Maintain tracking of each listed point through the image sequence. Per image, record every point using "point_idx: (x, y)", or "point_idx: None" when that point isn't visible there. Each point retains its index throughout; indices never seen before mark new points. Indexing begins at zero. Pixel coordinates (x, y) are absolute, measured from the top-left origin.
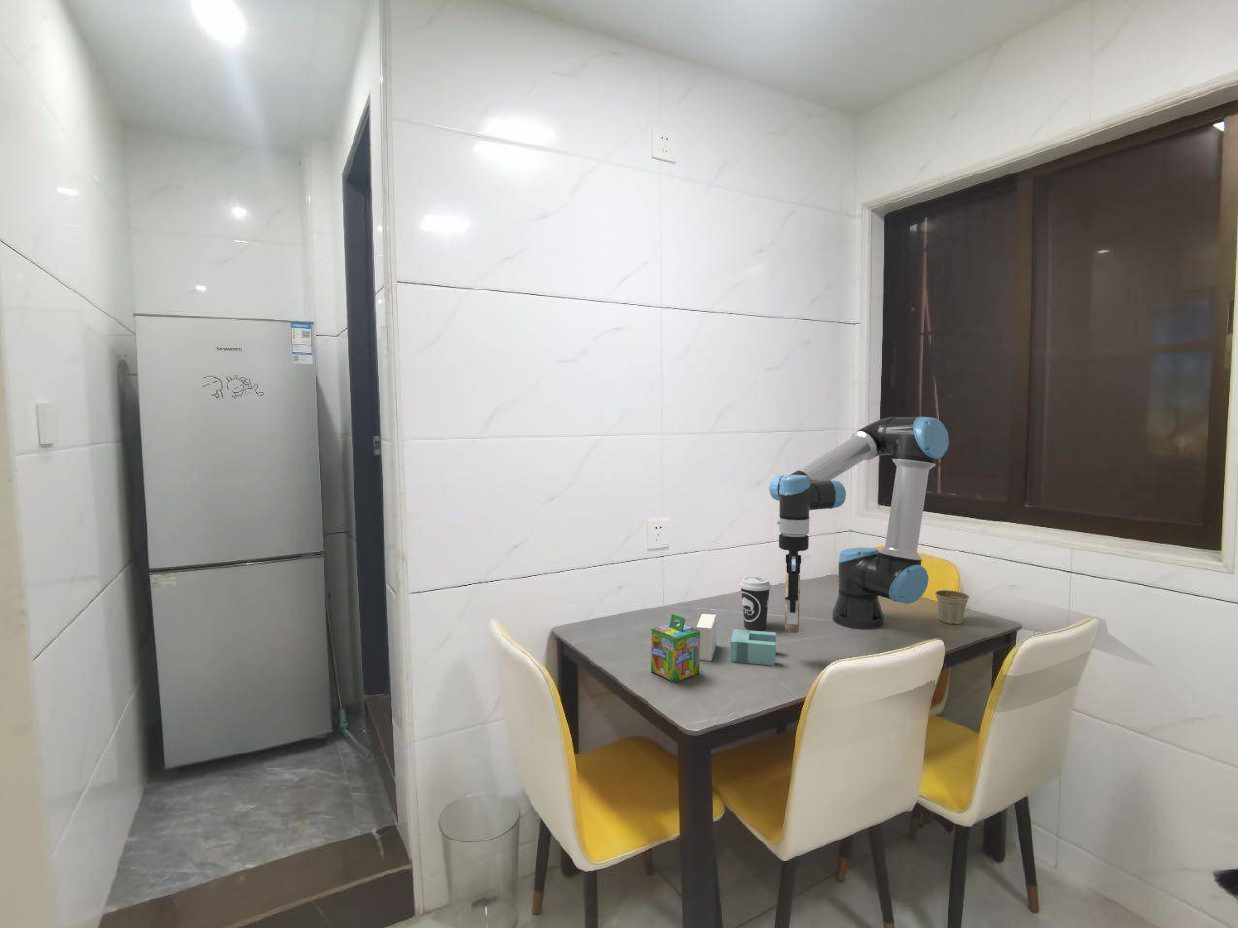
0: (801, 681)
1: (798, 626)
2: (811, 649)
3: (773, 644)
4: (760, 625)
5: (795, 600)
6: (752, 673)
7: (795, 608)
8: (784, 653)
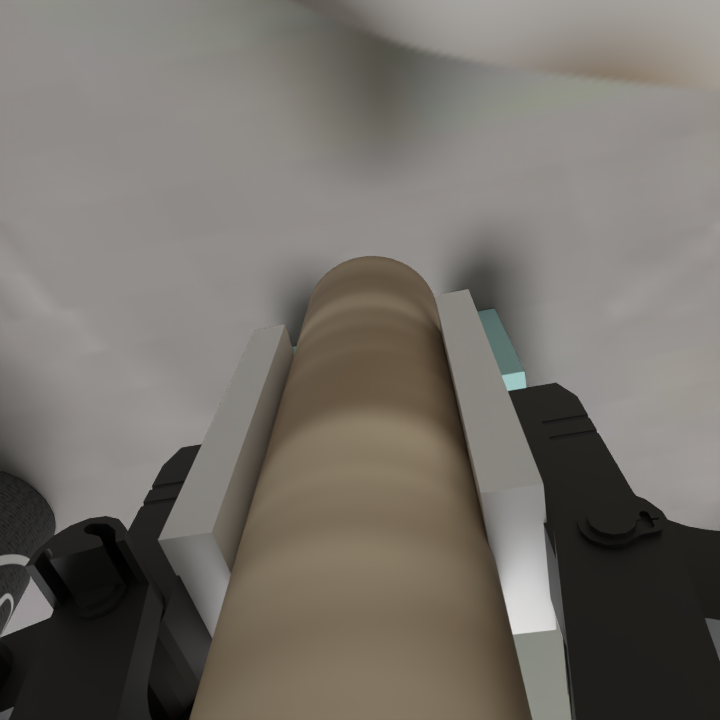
0: (700, 102)
1: (390, 276)
2: (113, 148)
3: (513, 383)
4: (8, 504)
5: (679, 526)
6: (641, 388)
7: (587, 421)
8: (282, 297)
